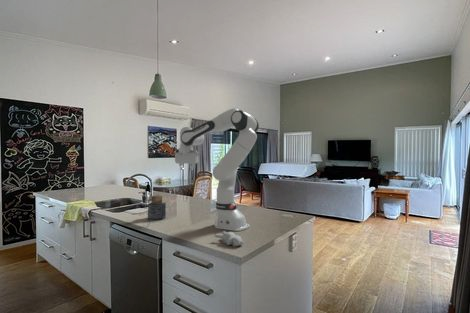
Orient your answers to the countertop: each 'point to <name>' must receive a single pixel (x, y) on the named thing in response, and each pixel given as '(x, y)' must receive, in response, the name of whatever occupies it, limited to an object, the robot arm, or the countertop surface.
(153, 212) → the small box
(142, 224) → the countertop surface
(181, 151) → the robot arm
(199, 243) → the countertop surface
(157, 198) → the walnut cube
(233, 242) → the bunny figurine
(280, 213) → the countertop surface
